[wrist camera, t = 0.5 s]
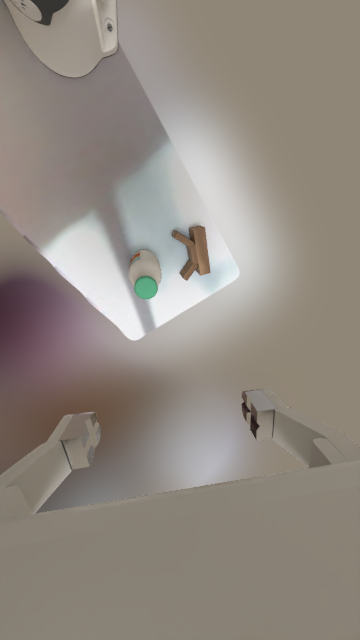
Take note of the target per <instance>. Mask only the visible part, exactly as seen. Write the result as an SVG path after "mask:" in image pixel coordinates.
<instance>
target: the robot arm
mask: <svg viewBox="0 0 360 640" xmlns="http://www.w3.org/2000/svg"><path fill="white" fill-rule="evenodd" d="M4 1H5V3H6V5H7V7H8V9H9V11H10V13H11V15H12V17H13V20H14V22H15V24H16V26H17V28H18V30H19V32H20V34H21V35H22V37H23V39H24V40H25V42H26V44H27V45H28V46H29V48H30V49H31V50H32V52H33V53H34V54H35V55H36V56H37V57H38V59H39V60H40V61H41V62H43V63H44V64H45V65H46V66H47V67H49V68H50V69H51V70H53V71H55V72H56V73H58V74H60V75H63V76H66V77H73V78H74V77H81V76H84V75H86V74H88V73H89V72H91V71H92V70H93V69H94V68H95V66H96V65H97V64H98V62H99V61H100V60H101V59H102V58H104V57H107V56H110V55H112V54H114V53H115V52H116V51H117V49H118V21H117V20H118V19H117V0H4ZM108 27H111V28H112V31H111V32H109V31H108ZM242 399H243V400H244V402H243V403H242V412H243V416H244V418H245V420H246V422H247V423H248V424H250V430H251V431H252V433H253V435H254V437H255V439H256V440H265V439H273V440H274V441H275V442H277V443H278V444H279V445H280V446H282V447H283V448H284V449H286V450H287V451H288V452H289V453H291V454H292V455H293V456H294V457H296V458H297V459H298V460H300V461H301V462H302V463H304V464H305V465H306V466H307V467H308V468H307V469H301V470H295V471H289V472H283V473H277V474H271V475H265V476H259V477H253V478H247V479H241V480H235V481H229V482H223V483H217V484H212V485H205V486H200V487H193V488H188V489H181V490H175V491H170V492H163V493H157V494H151V495H145V496H139V497H133V498H127V499H122V500H115V501H109V502H103V503H98V504H91V505H85V506H79V507H74V508H67V509H61V510H55V511H49V512H43V513H37V514H35V512H36V511H37V510H38V509H39V508H40V507H41V506H42V504H43V503H44V502H45V501H46V500H47V499H48V498H49V496H50V495H51V494H52V493H53V492H54V491H55V489H56V488H57V487H58V486H59V485H60V483H61V482H62V481H63V480H64V479H65V478H66V476H67V475H68V474H69V473H70V472H71V470H73V469H78V468H84V467H89V466H90V464H91V461H92V459H93V456H94V454H95V452H94V448H95V447H96V446H97V445H98V443H99V440H100V434H101V430H100V425H99V424H98V423H97V422H96V420H97V418H98V417H97V414H96V413H95V412H88V413H80V414H73V415H66V416H64V417H63V419H62V420H61V421H60V423H59V424H58V426H57V427H56V429H55V430H54V432H53V433H52V435H51V436H50V438H49V439H48V441H47V442H46V443H43V444H41V445H40V446H39V447H37V448H36V449H35V450H33V451H32V452H31V453H29V454H28V455H27V456H25V457H24V458H23V459H21V460H20V461H19V462H17V463H16V464H15V465H13V466H12V467H11V468H9V469H8V470H7V471H5V472H4V473H3V474H1V475H0V640H360V447H359V446H358V445H357V444H356V443H355V442H354V441H352V440H351V439H350V438H349V437H348V436H347V435H346V434H345V433H343V432H341V431H339V430H337V429H335V428H332V427H330V426H328V425H326V424H324V423H322V422H320V421H318V420H316V419H313V418H311V417H309V416H307V415H305V414H303V413H301V412H299V411H297V410H295V409H293V408H291V407H289V408H287V406H286V405H285V404H284V403H283V402H282V401H281V400H280V399H279V398H278V396H276V394H275V393H274V392H273V391H272V390H271V389H270V388H269V387H268V388H261V389H256V390H250V391H243V392H242Z"/></svg>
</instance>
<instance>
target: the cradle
mask: <svg viewBox="0 0 360 640" xmlns="http://www.w3.org/2000/svg"><path fill="white" fill-rule="evenodd" d="M189 232H190V238H191V240H189V239H188V238H186V237H185V236H183V235H181V234H180V233H178V232H177V231H175V230H174V232H173V234H172V236H173V237H174V238H175V239H177V240H179V241H180V242H182V243H184V244H185V245H187V251H188V256H189V260H188V262H187V263H186V265H185V266H184V268H183V269H182V270H181V272H180V274H181V276H182V277H183V279H185V280H186V281H187V280H188V279H189V277H190V276H191V275H192V273H193V272H194V271H195V269H196V271H197V272H198V273H199V275H204V274H208V273H210V266H209V258H208V250H207V241H206V233H205V227H203V226H196V227H192V228H189Z"/></svg>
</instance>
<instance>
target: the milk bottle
mask: <svg viewBox="0 0 360 640" xmlns="http://www.w3.org/2000/svg"><path fill="white" fill-rule="evenodd" d="M129 278H130V281H131V283H132V285H133V286H134V290H135V293H136V294H137V295H138V296H139V297H140V298H142V299H150V298H152V297H154V296H155V295H156V293H157V290H158V285H159V284H160V281H161V269H160V266H159V262H158V260H157V257H156V256H155V255H154V254H153V253H152V252H150V251H148V250H140V251H138V252H136V253H135V254H134V255H133V257H132V259H131V263H130V268H129Z"/></svg>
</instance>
